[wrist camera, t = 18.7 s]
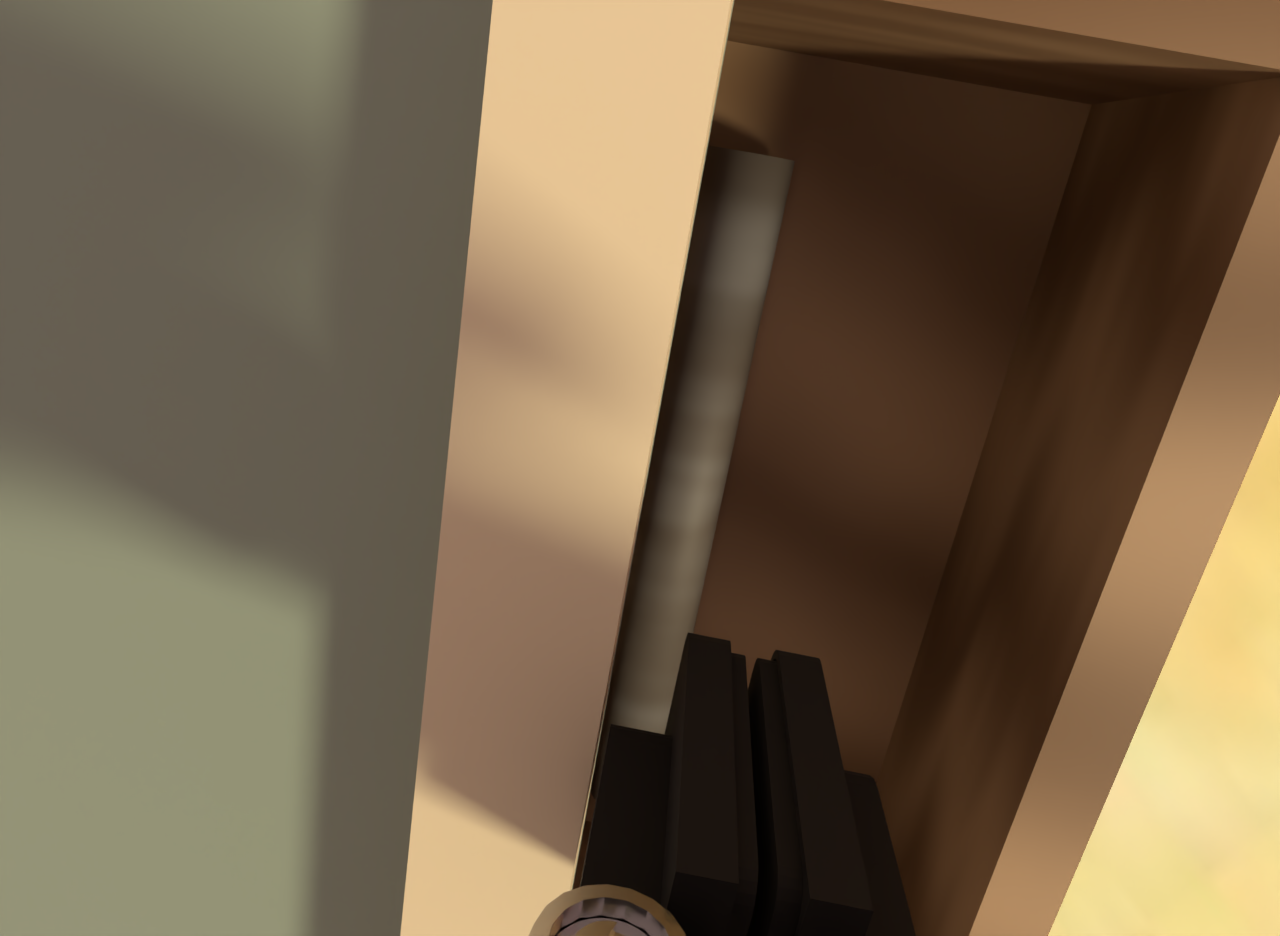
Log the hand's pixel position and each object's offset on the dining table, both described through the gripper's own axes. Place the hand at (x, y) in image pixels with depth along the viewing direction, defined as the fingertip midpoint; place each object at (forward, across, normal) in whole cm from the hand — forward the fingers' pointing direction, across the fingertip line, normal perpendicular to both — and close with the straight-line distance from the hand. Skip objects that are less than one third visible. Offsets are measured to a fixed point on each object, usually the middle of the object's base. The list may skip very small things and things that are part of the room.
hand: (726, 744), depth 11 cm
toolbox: (+9, +1, 0) cm, 9 cm away
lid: (+2, +9, 0) cm, 9 cm away
